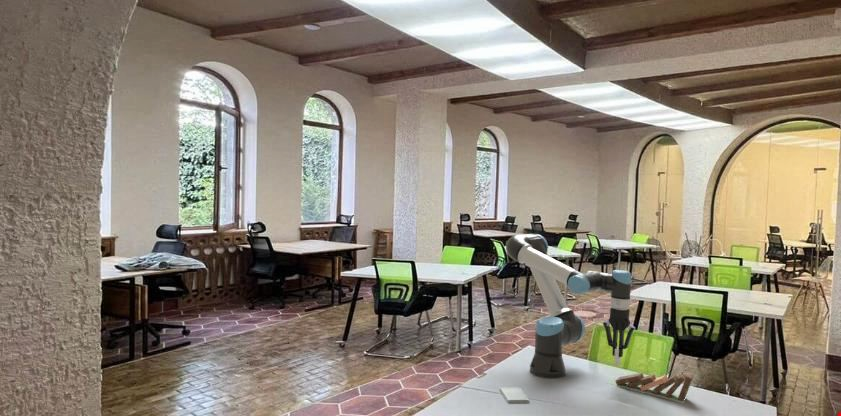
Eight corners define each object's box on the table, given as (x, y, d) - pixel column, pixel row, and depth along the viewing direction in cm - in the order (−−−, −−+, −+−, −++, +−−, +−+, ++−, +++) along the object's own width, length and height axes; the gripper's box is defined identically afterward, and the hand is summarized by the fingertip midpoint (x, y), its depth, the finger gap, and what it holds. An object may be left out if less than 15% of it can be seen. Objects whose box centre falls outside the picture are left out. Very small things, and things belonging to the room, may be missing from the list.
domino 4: (652, 390, 210) (672, 377, 206) (655, 387, 214) (675, 374, 210) (655, 394, 210) (676, 381, 205) (658, 391, 214) (678, 378, 209)
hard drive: (529, 400, 198) (520, 387, 211) (508, 400, 198) (499, 387, 210) (529, 404, 199) (519, 391, 211) (507, 404, 198) (499, 391, 210)
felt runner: (607, 383, 220) (607, 383, 220) (613, 378, 227) (613, 378, 227) (683, 403, 203) (683, 402, 203) (687, 397, 209) (688, 396, 209)
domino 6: (677, 399, 205) (686, 376, 203) (680, 395, 209) (689, 372, 207) (682, 401, 204) (691, 378, 202) (685, 397, 208) (694, 375, 206)
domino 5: (664, 394, 208) (680, 376, 204) (667, 390, 212) (683, 373, 208) (668, 398, 207) (684, 380, 203) (671, 394, 211) (687, 376, 207)
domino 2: (627, 383, 216) (650, 377, 211) (631, 380, 220) (654, 374, 215) (629, 388, 216) (652, 381, 210) (633, 384, 220) (656, 378, 214)
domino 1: (615, 380, 219) (638, 375, 214) (619, 377, 223) (642, 372, 218) (617, 384, 219) (640, 380, 213) (620, 381, 223) (643, 376, 217)
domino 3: (639, 387, 213) (662, 378, 208) (643, 383, 217) (665, 374, 212) (642, 391, 213) (664, 382, 208) (645, 387, 217) (668, 379, 212)
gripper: (601, 306, 221) (598, 362, 222) (633, 312, 213) (630, 369, 214) (607, 303, 227) (604, 358, 228) (638, 309, 219) (635, 365, 220)
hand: (617, 363), depth 221 cm, fingers closed
